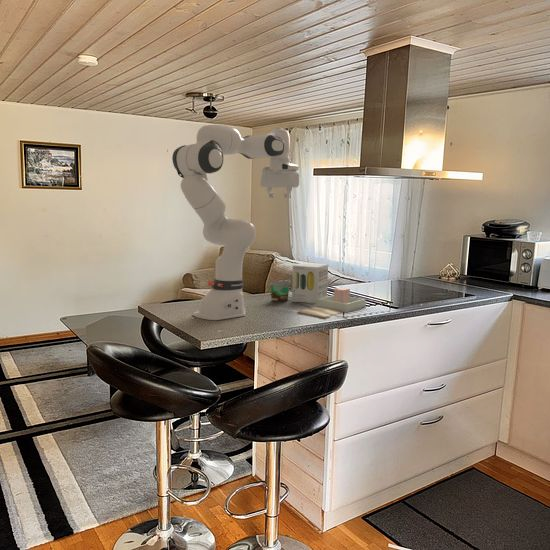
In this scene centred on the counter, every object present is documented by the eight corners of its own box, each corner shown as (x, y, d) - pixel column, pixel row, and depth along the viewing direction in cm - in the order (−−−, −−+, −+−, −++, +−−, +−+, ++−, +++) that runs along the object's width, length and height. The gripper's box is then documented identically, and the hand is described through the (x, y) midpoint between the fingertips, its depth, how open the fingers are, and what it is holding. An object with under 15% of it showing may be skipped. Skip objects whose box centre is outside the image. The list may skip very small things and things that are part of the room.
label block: (342, 308, 222) (343, 290, 221) (333, 306, 225) (334, 288, 224) (349, 306, 226) (350, 288, 224) (339, 304, 229) (340, 287, 228)
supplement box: (290, 302, 236) (291, 264, 233) (301, 297, 248) (302, 261, 245) (317, 305, 230) (318, 267, 227) (327, 300, 242) (328, 263, 239)
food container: (280, 303, 231) (280, 282, 230) (269, 301, 235) (269, 280, 233) (295, 299, 241) (296, 279, 240) (285, 298, 245) (285, 277, 243)
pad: (324, 318, 204) (324, 316, 204) (297, 313, 213) (297, 311, 213) (343, 313, 215) (343, 311, 214) (317, 308, 224) (317, 306, 223)
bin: (346, 313, 215) (346, 304, 214) (317, 307, 225) (317, 298, 224) (365, 307, 226) (365, 299, 226) (336, 302, 236) (337, 294, 236)
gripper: (257, 166, 230) (257, 197, 232) (292, 165, 216) (291, 198, 219) (267, 167, 234) (266, 197, 237) (301, 166, 221) (300, 198, 223)
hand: (278, 197), depth 227 cm, fingers open, 8 cm apart
